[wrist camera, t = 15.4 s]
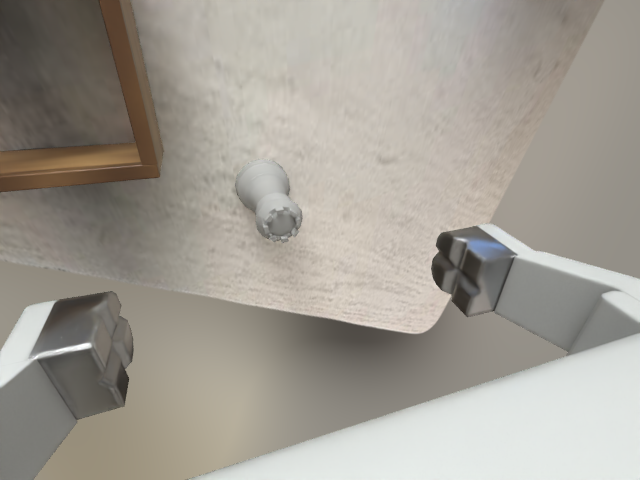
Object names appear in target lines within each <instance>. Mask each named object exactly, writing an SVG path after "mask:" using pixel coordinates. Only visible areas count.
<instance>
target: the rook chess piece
mask: <svg viewBox="0 0 640 480" xmlns="http://www.w3.org/2000/svg"><path fill="white" fill-rule="evenodd" d="M235 187H236V191H237V195H238V196H239V199H240V200H241V201H242V203H243V204H244V205H245V207H247V208H249V209H250V210H252V211H254V212H256V217H257V218H256V225H257V230H258V231H259V232H260V233H261V235H262V236H264V237H266V238H267V239H269V240H272V241H274V242H275V241H276V240H277V241H279V240H281V242H282V243H284V242H288V238H289V237H290V236H292V235H293V236H294V237H296V235H297V234H298V233H299V231H298V229H299V228H300V226H301V222H302V211H301V209H300V208H299V206H298V205H297V204H296V203H295V202H293V201H292V200H291V199H290V198H289V197H288V194H289V191H290V186H289V179H288V177H287V174H286V173H285V171H284V170H283V168H282V167H281V166H280V165H279V164H277V163H276V162H274V161H271V160H267V159H259V160H254V161H251V162H250V163H248V164H246V165H245V166H243V168H242V169H241V170H240V172H239V173H238V175H237V178H236V183H235Z"/></svg>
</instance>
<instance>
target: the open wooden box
mask: <svg viewBox="0 0 640 480" xmlns="http://www.w3.org/2000/svg"><path fill="white" fill-rule="evenodd" d="M99 3H100V7H101V11H102V15H103V19H104V22H105V26H106V30H107V34H108V38H109V42H110V46H111V49H112V53H113V57H114V61H115V65H116V69H117V72H118V76H119V80H120V84H121V88H122V92H123V95H124V99H125V103H126V107H127V111H128V115H129V118H130V122H131V126H132V130H133V134H134V138H135V143H120V144H104V145H89V146H74V147H59V148H43V149H28V150H13V151H0V192H8V191H19V190H30V189H40V188H51V187H62V186H73V185H83V184H94V183H105V182H115V181H126V180H137V179H148V178H158V177H160V171H161V165H162V159H163V152H164V150H163V145H162V141H161V136H160V131H159V127H158V122H157V118H156V113H155V109H154V104H153V100H152V95H151V91H150V86H149V82H148V77H147V73H146V68H145V64H144V59H143V54H142V50H141V45H140V41H139V36H138V32H137V27H136V23H135V18H134V14H133V9H132V5H131V0H99Z"/></svg>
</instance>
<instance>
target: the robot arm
mask: <svg viewBox="0 0 640 480" xmlns="http://www.w3.org/2000/svg"><path fill="white" fill-rule="evenodd" d="M436 247H437V249H438V250H439V252H438V253H437V254H436V256H435V257H434V258H433V261H432V267H431V270H432V275H433V279H434V281H435V283H436V285H437V286H438V287H439V288H440V289H441V290H442V291H444V292H447V293H449V294H452V302H453V303H454V304H455V305H456V306H457V307H458V308H459V309H460V310H461V311H462V312H463V313H464V314H465V315H466V316H467V317H471V316H475V315H479V314H484V313H488V312H492V311H494V313H496V314H498V315H500V316H501V317H503V318H505V319H507V320H509V321H511V322H513V323H515V324H516V325H518V326H521V327H522V328H524V329H526V330H528V331H530V332H532V333H533V334H536V335H537V336H539V337H541V338H543V339H545V340H547V341H549V342H551V343H552V344H554V345H556V346H558V347H560V348H562V349H564V350H566V351H567V352H568V353H567V355H566V357H563V358H560V359H557V360H554V361H551V362H548V363H544V364H541V365H539V366H535V367H532V368H529V369H527V370H523V371H520V372H517V373H514V374H511V375H508V376H505V377H501V378H498V379H495V380H492V381H489V382H486V383H483V384H480V385H477V386H474V387H471V388H468V389H465V390H461V391H459V392H455V393H453V394H449V395H446V396H443V397H440V398H437V399H434V400H431V401H428V402H425V403H422V404H419V405H415V406H413V407H409V408H406V409H403V410H400V411H397V412H394V413H391V414H388V415H385V416H381V417H378V418H375V419H372V420H369V421H366V422H363V423H360V424H357V425H354V426H351V427H348V428H344V429H341V430H338V431H335V432H332V433H329V434H326V435H323V436H320V437H317V438H314V439H311V440H308V441H304V442H301V443H298V444H295V445H292V446H289V447H286V448H283V449H280V450H277V451H274V452H270V453H268V454H264V455H261V456H258V457H255V458H252V459H249V460H246V461H243V462H240V463H236V464H233V465H231V466H227V467H224V468H221V469H218V470H215V471H212V472H209V473H206V474H203V475H199V476H196V477H193V478H190V479H187V480H640V279H638V278H634V277H631V276H627V275H624V274H620V273H617V272H613V271H610V270H606V269H603V268H599V267H596V266H592V265H589V264H585V263H582V262H578V261H574V260H571V259H567V258H564V257H560V256H557V255H553V254H550V253H546V252H542V251H538V252H535V251H534V250H532V249H531V248H529V247H528V246H526V245H525V244H523V243H522V242H520V241H518V240H517V239H515V238H514V237H513V236H511V235H509V234H508V233H506V232H505V231H503V230H502V229H500V228H499V227H497V226H495V225H494V224H490V223H486V224H481V225H476V226H472V227H469V228H464V229H459V230H453V231H448V232H443V233H441V234H440V235H439V237H438V239H437V243H436ZM120 309H121V303H120V301H119V299H118V296H117V294H116V293H114V292H113V291H110V292H104V293H97V294H91V295H85V296H78V297H72V298H66V299H60V300H54V301H48V302H43V303H37V304H32V305H30V306H28V307H26V308H25V309H24V311H23V313H22V314H21V316H20V318H19V319H18V321H17V323H16V325H15V326H14V328H13V330H12V332H11V333H10V335H9V337H8V338H7V340H6V342H5V344H4V346H3V347H2V349H1V351H0V480H33V479H34V478H35V477H36V475H37V474H38V473H39V471H40V470H41V469H42V468H43V466H44V465H45V464H46V462H47V461H48V460H49V459H50V457H51V456H52V455H53V453H54V452H55V451H56V449H57V448H58V447H59V445H60V444H61V443H62V442H63V440H64V439H65V438H66V436H67V435H68V434H69V432H70V431H71V430H72V429H73V427H74V426H75V425H76V423H77V420H78V419H82V418H85V417H89V416H92V415H95V414H99V413H102V412H106V411H109V410H113V409H116V408H120V407H124V405H125V399H126V394H127V388H128V382H129V377H128V375H127V373H126V371H125V369H126V368H127V366H128V365H129V364H130V363H131V362H132V357H133V337H132V332H131V328H130V325H129V323H128V320H126V319H124V318H123V317H121V316H119V314H120Z"/></svg>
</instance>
